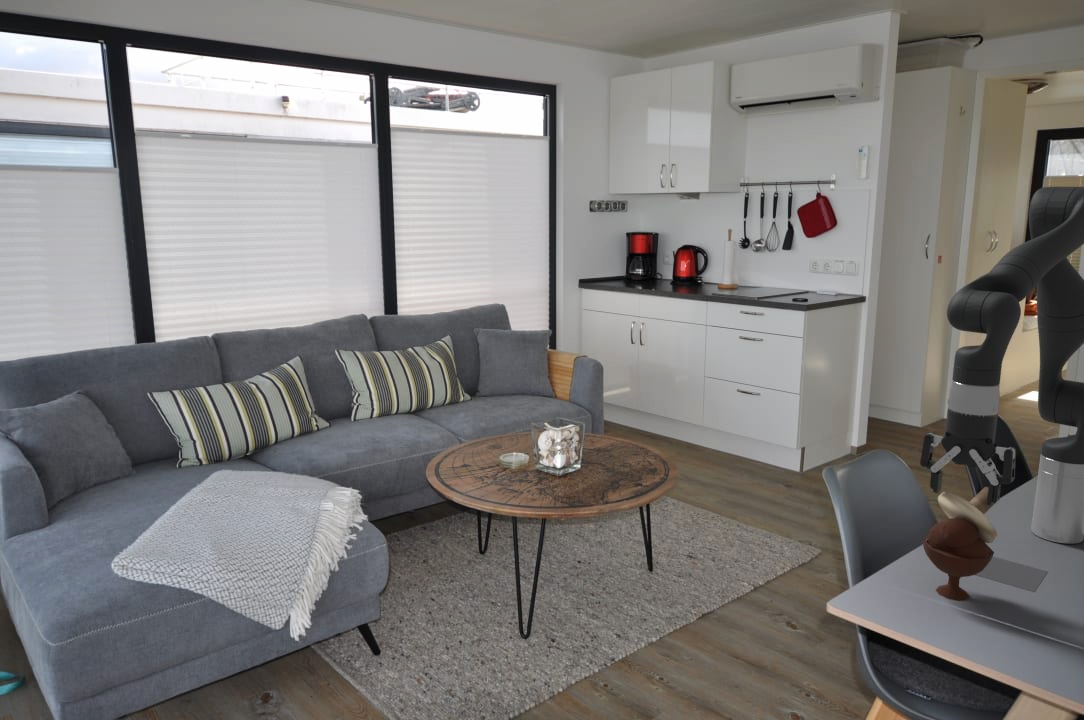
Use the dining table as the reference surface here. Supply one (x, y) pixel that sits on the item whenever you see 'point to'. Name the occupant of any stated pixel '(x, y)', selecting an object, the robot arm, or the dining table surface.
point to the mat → (1013, 574)
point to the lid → (970, 512)
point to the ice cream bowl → (956, 553)
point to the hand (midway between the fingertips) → (962, 497)
